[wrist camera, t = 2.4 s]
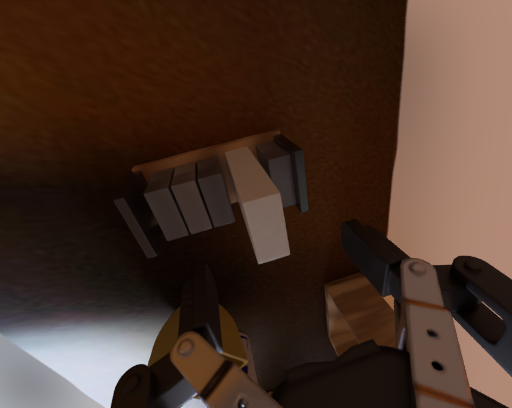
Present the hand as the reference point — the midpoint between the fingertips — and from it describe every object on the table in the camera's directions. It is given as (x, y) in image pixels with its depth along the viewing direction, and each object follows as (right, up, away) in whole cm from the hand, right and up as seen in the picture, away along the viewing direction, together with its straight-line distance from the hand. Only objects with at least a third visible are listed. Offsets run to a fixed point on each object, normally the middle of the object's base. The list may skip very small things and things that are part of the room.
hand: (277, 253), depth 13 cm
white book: (-3, +6, +11) cm, 13 cm away
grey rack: (-6, +6, +12) cm, 15 cm away
